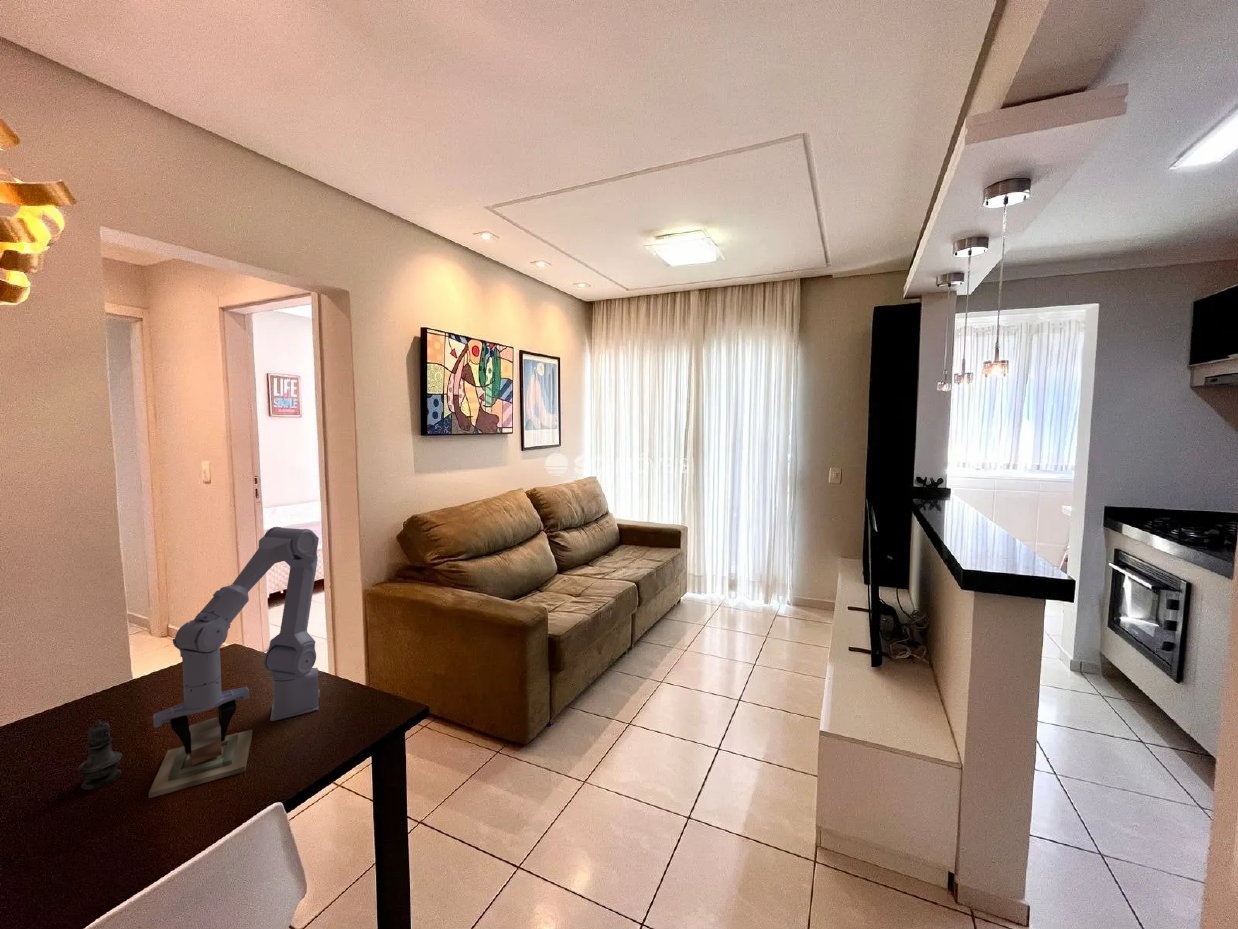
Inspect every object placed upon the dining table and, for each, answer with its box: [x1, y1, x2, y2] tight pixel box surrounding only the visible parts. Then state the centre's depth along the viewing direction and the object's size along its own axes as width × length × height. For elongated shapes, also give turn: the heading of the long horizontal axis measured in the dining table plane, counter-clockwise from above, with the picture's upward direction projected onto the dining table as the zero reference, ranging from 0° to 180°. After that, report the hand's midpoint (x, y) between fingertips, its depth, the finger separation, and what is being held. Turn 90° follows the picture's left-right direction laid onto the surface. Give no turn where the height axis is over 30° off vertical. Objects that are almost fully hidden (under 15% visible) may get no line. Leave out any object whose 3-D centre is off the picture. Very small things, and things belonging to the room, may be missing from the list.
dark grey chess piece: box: [77, 718, 123, 791], centre depth 93 cm, size 6×6×12 cm
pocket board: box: [148, 729, 254, 799], centre depth 99 cm, size 14×14×2 cm
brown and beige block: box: [189, 716, 222, 765], centre depth 98 cm, size 4×4×6 cm
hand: (205, 745), depth 98 cm, fingers open, 5 cm apart
